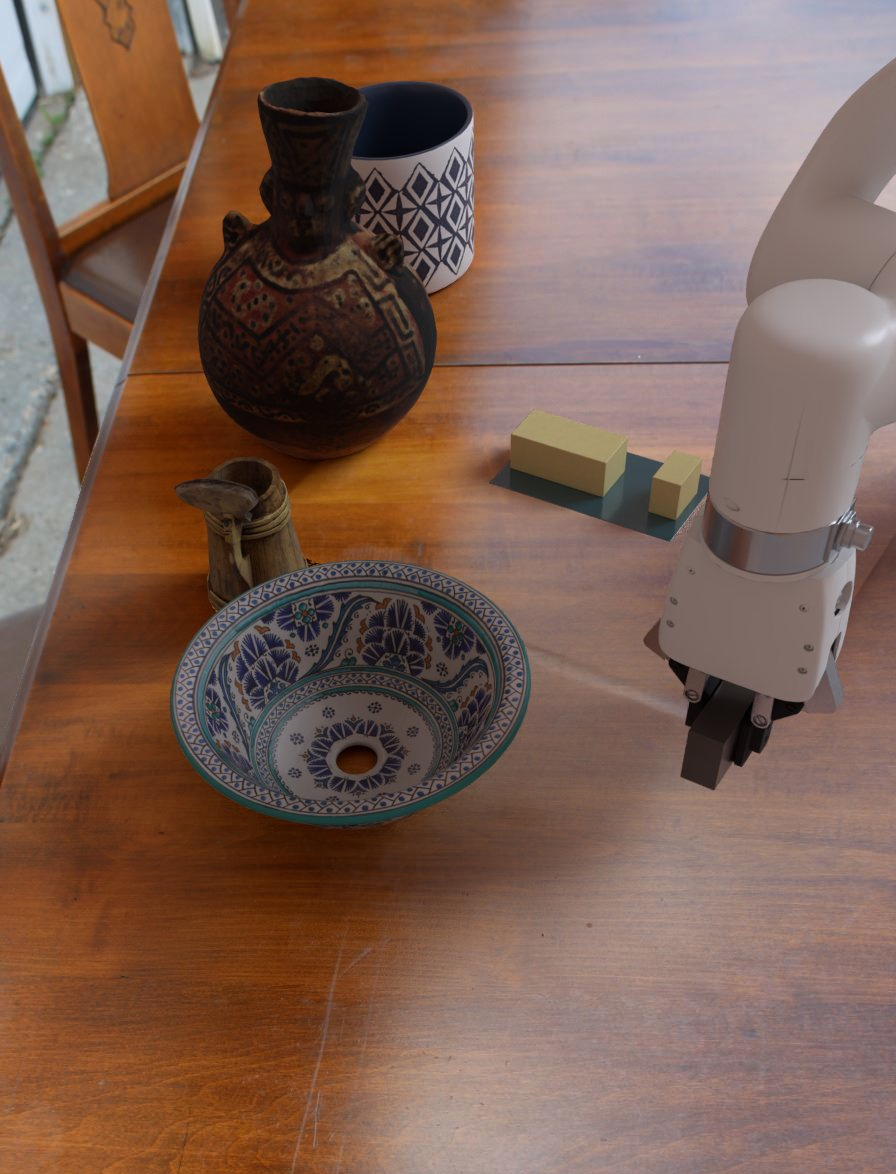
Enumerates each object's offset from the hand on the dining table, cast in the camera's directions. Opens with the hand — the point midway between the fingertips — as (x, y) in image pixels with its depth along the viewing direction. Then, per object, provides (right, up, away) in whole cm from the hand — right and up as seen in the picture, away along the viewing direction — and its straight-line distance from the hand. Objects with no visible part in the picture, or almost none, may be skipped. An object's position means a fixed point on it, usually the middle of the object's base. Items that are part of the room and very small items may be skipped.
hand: (724, 741), depth 88 cm
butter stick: (-5, +27, +27) cm, 39 cm away
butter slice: (+3, +23, +23) cm, 33 cm away
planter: (-18, +56, +52) cm, 79 cm away
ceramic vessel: (-26, +33, +36) cm, 55 cm away
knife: (+3, +3, +2) cm, 5 cm away
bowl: (-24, -1, +12) cm, 26 cm away
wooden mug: (-32, +14, +23) cm, 42 cm away
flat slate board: (-2, +25, +27) cm, 37 cm away
